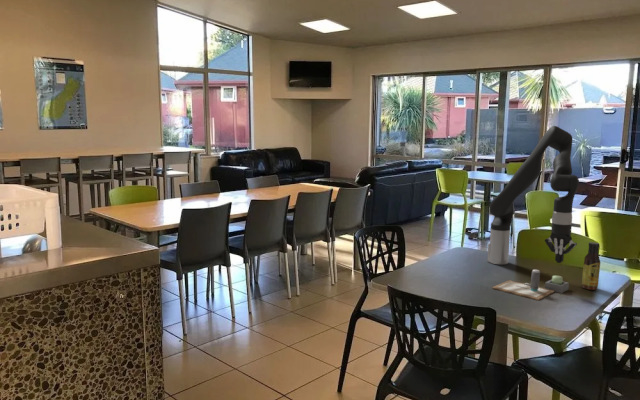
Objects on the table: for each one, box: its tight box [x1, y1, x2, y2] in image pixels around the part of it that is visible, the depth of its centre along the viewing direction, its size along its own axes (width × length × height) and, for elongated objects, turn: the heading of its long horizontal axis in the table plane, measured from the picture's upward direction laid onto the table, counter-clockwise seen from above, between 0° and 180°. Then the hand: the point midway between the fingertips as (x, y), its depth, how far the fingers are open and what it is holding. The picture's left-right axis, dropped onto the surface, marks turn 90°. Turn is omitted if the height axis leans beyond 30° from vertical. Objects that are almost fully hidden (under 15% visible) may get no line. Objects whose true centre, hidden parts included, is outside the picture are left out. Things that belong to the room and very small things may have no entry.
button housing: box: [544, 278, 570, 294], centre depth 220 cm, size 7×7×3 cm
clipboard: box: [491, 279, 555, 301], centre depth 218 cm, size 20×15×1 cm
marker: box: [530, 269, 541, 291], centre depth 216 cm, size 3×3×9 cm
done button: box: [551, 275, 564, 285], centre depth 219 cm, size 4×4×4 cm
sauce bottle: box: [581, 241, 601, 291], centre depth 220 cm, size 6×6×20 cm
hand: (559, 262), depth 218 cm, fingers closed
